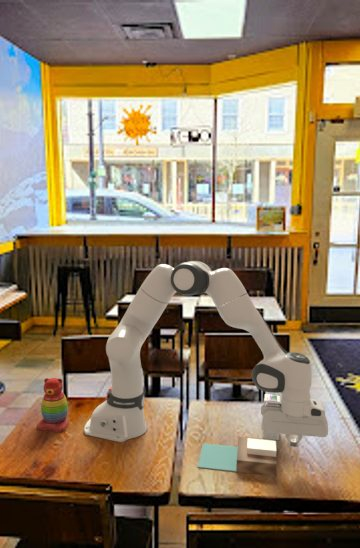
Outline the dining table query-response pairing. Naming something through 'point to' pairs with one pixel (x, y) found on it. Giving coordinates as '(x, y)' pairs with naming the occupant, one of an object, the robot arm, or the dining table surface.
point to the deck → (254, 460)
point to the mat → (218, 457)
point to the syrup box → (267, 399)
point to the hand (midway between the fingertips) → (293, 446)
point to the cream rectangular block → (261, 447)
